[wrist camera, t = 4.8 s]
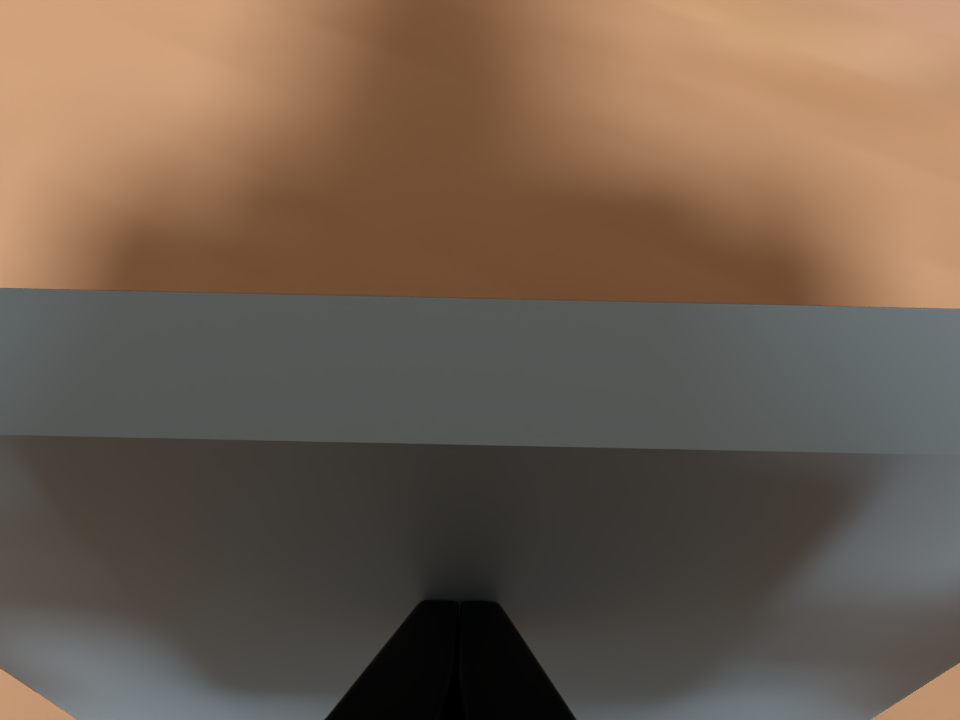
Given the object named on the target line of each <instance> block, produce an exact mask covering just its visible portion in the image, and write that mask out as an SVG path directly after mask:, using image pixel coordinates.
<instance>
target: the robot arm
mask: <svg viewBox="0 0 960 720" xmlns="http://www.w3.org/2000/svg"><path fill="white" fill-rule="evenodd" d="M325 720H577V719H576V718H575V716H574V715H573V713H572V712H571V710H570V709H569V707H568V706H567V704H566V703H565V701H564V700H563V698H562V697H561V695H560V694H559V692H558V690H557V689H556V687H555V686H554V684H553V683H552V681H551V680H550V678H549V677H548V675H547V674H546V672H545V671H544V669H543V668H542V666H541V665H540V663H539V662H538V660H537V659H536V657H535V656H534V654H533V653H532V651H531V650H530V648H529V647H528V645H527V644H526V642H525V641H524V639H523V638H522V636H521V635H520V633H519V632H518V630H517V629H516V627H515V626H514V624H513V622H512V621H511V619H510V618H509V616H508V615H507V613H506V612H505V610H504V609H503V607H502V606H501V605H500V604H499V603H498V602H494V601H465V602H463V603H462V604H461V606H460V615H459V605H458V603H457V602H455V601H451V600H422V601H421V602H419V603H418V604H417V605H416V607H415V608H414V609H413V610H412V612H411V613H410V614H409V615H408V617H407V618H406V619H405V620H404V621H403V623H402V624H401V625H400V626H399V628H398V629H397V630H396V631H395V633H394V634H393V635H392V636H391V638H390V639H389V640H388V641H387V643H386V644H385V645H384V646H383V648H382V649H381V650H380V651H379V653H378V654H377V655H376V656H375V658H374V659H373V660H372V661H371V662H370V664H369V665H368V666H367V667H366V669H365V670H364V671H363V672H362V674H361V675H360V676H359V677H358V679H357V680H356V681H355V682H354V684H353V685H352V686H351V687H350V689H349V690H348V691H347V692H346V694H345V695H344V696H343V697H342V698H341V700H340V701H339V702H338V703H337V705H336V706H335V707H334V708H333V710H332V711H331V712H330V713H329V715H328V716H327V717H326V718H325Z"/></svg>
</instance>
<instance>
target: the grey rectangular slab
mask: <svg viewBox="0 0 960 720" xmlns="http://www.w3.org/2000/svg"><path fill="white" fill-rule="evenodd" d="M422 600H451V601H455V602H457V603H458V605H459V615H460V606H461V604H462V603H463V602H465V601H494V602H498V603H499V604H500V605H501V606H502V607H503V609H504V610H505V612H506V613H507V615H508V616H509V618H510V619H511V621H512V622H513V624H514V626H515V627H516V629H517V630H518V632H519V633H520V635H521V636H522V638H523V639H524V641H525V642H526V644H527V645H528V647H529V648H530V650H531V651H532V653H533V654H534V656H535V657H536V659H537V660H538V662H539V663H540V665H541V666H542V668H543V669H544V671H545V672H546V674H547V675H548V677H549V678H550V680H551V681H552V683H553V684H554V686H555V687H556V689H557V690H558V692H559V694H560V695H561V697H562V698H563V700H564V701H565V703H566V704H567V706H568V707H569V709H570V710H571V712H572V713H573V715H574V716H575V718H576V719H577V720H870V719H872V718H873V717H875V716H877V715H878V714H880V713H881V712H883V711H884V710H886V709H888V708H889V707H891V706H892V705H894V704H895V703H897V702H899V701H900V700H902V699H903V698H905V697H906V696H908V695H910V694H911V693H913V692H914V691H916V690H917V689H919V688H921V687H922V686H924V685H925V684H927V683H928V682H930V681H931V680H933V679H935V678H936V677H938V676H939V675H941V674H942V673H944V672H946V671H947V670H949V669H950V668H952V667H953V666H955V665H957V664H958V663H960V309H944V308H898V307H852V306H806V305H760V304H714V303H668V302H622V301H576V300H530V299H484V298H438V297H391V296H345V295H299V294H253V293H207V292H161V291H115V290H69V289H23V288H0V668H1V669H2V670H4V671H5V672H7V673H8V674H10V675H11V676H13V677H14V678H16V679H17V680H19V681H20V682H22V683H23V684H25V685H26V686H28V687H29V688H31V689H32V690H34V691H35V692H37V693H38V694H40V695H41V696H43V697H44V698H46V699H47V700H49V701H50V702H52V703H53V704H55V705H56V706H58V707H59V708H61V709H62V710H64V711H65V712H67V713H68V714H70V715H71V716H73V717H74V718H76V719H77V720H325V718H326V717H327V716H328V715H329V713H330V712H331V711H332V710H333V708H334V707H335V706H336V705H337V703H338V702H339V701H340V700H341V698H342V697H343V696H344V695H345V694H346V692H347V691H348V690H349V689H350V687H351V686H352V685H353V684H354V682H355V681H356V680H357V679H358V677H359V676H360V675H361V674H362V672H363V671H364V670H365V669H366V667H367V666H368V665H369V664H370V662H371V661H372V660H373V659H374V658H375V656H376V655H377V654H378V653H379V651H380V650H381V649H382V648H383V646H384V645H385V644H386V643H387V641H388V640H389V639H390V638H391V636H392V635H393V634H394V633H395V631H396V630H397V629H398V628H399V626H400V625H401V624H402V623H403V621H404V620H405V619H406V618H407V617H408V615H409V614H410V613H411V612H412V610H413V609H414V608H415V607H416V605H417V604H418V603H419V602H421V601H422Z"/></svg>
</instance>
